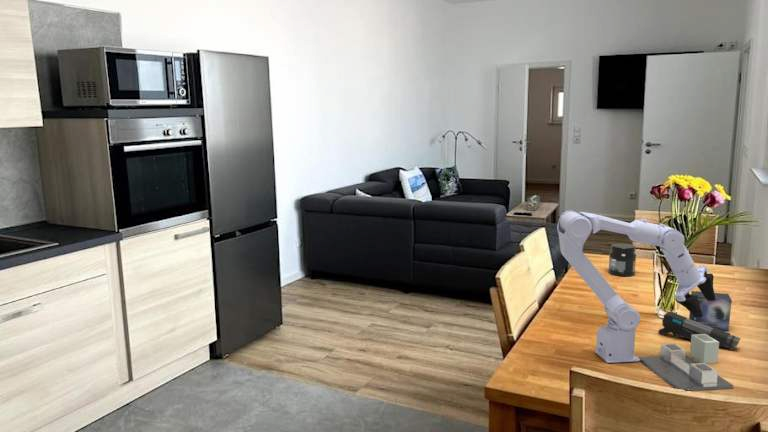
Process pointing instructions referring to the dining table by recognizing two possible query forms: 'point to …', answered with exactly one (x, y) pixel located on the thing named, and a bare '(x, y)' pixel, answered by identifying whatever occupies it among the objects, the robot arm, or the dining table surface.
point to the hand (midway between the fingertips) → (705, 308)
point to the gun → (695, 330)
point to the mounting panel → (684, 370)
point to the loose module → (704, 348)
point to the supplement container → (622, 260)
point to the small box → (714, 311)
